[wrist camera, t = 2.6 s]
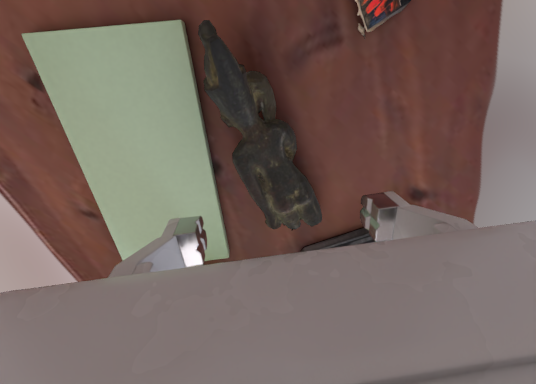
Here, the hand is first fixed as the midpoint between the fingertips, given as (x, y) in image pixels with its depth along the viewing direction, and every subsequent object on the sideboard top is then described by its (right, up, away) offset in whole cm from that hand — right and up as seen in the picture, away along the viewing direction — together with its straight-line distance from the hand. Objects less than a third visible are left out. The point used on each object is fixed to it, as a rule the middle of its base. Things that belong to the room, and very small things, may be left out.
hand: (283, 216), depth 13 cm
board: (-12, +4, +11) cm, 16 cm away
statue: (-1, +6, +11) cm, 13 cm away
